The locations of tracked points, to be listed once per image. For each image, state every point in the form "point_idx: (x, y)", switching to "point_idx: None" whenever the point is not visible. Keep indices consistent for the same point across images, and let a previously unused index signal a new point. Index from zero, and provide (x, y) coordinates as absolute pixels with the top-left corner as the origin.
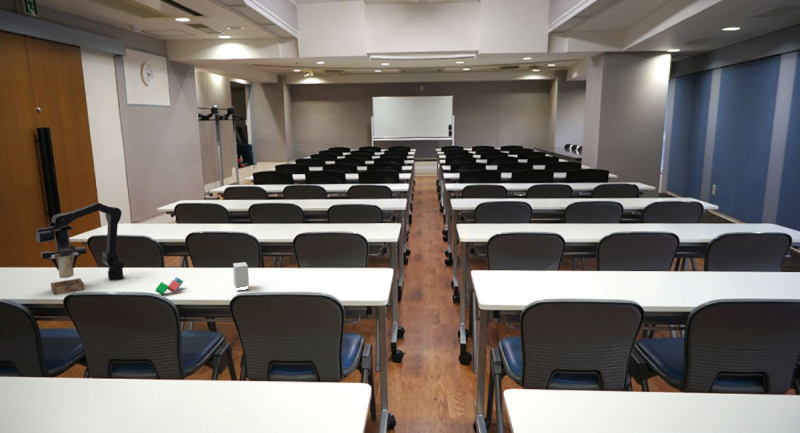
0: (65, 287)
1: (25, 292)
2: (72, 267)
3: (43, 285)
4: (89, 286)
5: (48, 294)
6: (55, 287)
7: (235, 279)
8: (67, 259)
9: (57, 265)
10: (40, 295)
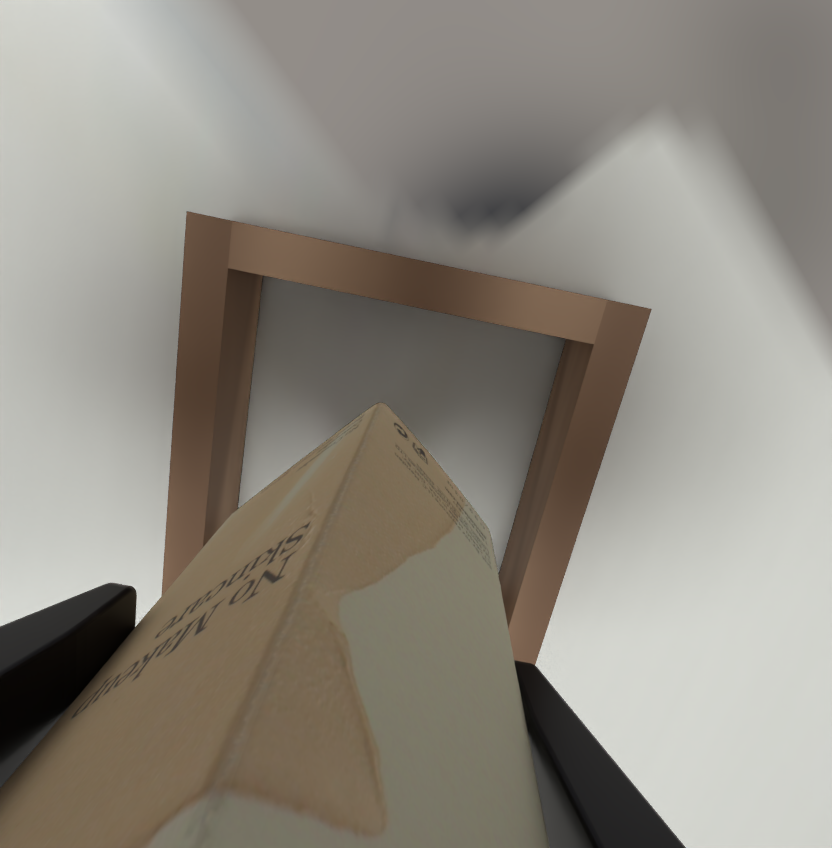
0: (472, 273)
1: (765, 681)
2: (141, 624)
3: None
4: (142, 339)
5: (651, 380)
6: (592, 369)
7: None
8: None
9: (585, 799)
10: (733, 415)
